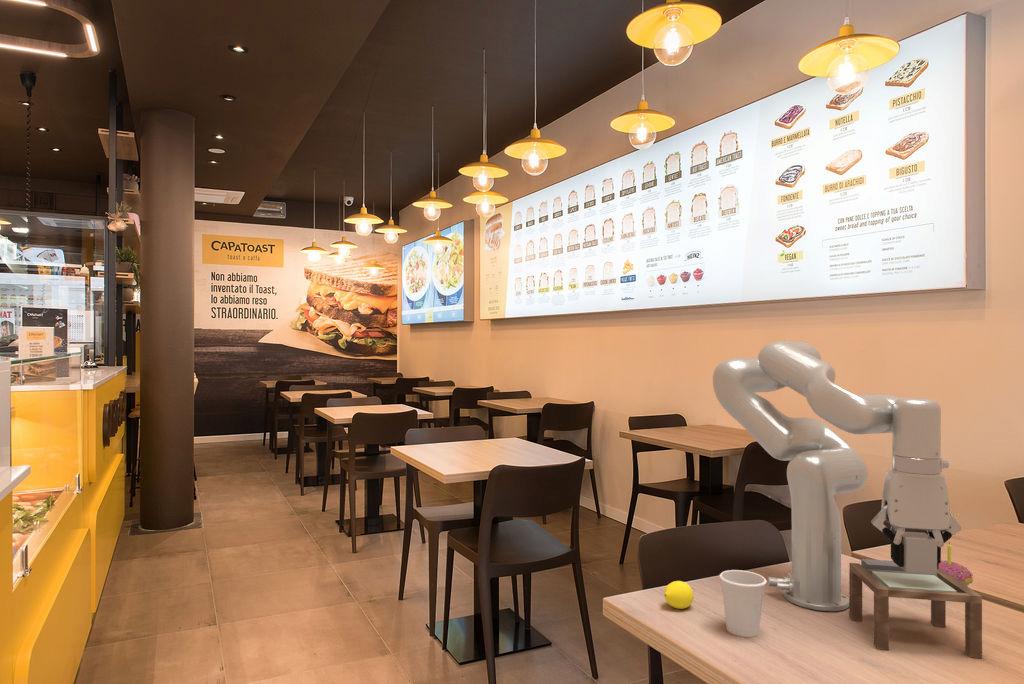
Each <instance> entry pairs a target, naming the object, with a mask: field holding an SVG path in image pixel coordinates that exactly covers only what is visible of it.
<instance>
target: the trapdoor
mask: <svg viewBox="0 0 1024 684" xmlns="http://www.w3.org/2000/svg"><path fill="white" fill-rule="evenodd" d="M860 561H861V563H860V565H861V566H863V567H864V568H865V569H866V570H867V571H868V572H869V573H870V574H871V575H873V576H874V577H875V578H876V579H877V580H878V581H879V582H880V583H882V584H883V585H884V586H885V587H886V588H898V589H912V590H926V591H940V592H955V593H957V591H956V590H954V589H953V588H952V587H950V586H949V585H947V584H946V583H945V582H943V581H942V580H940V579H939V578H938V576H937V574H926V573H912V572H906V571H904V570H903V569H902V568H900V567H899V566H898V565H897V564H895V563H894V562H893V560H883V559H867V558H861V559H860Z"/></svg>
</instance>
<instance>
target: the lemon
mask: <svg viewBox="0 0 1024 684" xmlns="http://www.w3.org/2000/svg"><path fill="white" fill-rule="evenodd" d="M663 594H664V598H665V602H666V603H667V604H668V605H669V606H670V607H671V608H674V609H678V610H684V609H686V608H689V607H690V606H691V605H692V603H693V600H694V598H695V596H694V595H695V594H694V591H693V589H692V588H691V585H689V584H688V583H687V582H685V581H681V580H676V581H672V582H670V583H668V584H667V586H666V587H665V588H664V593H663Z"/></svg>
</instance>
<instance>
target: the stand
mask: <svg viewBox="0 0 1024 684" xmlns="http://www.w3.org/2000/svg"><path fill="white" fill-rule="evenodd" d="M848 565H849V573H848V574H849V575H848V576H849V582H848V583H849V584H848V585H849V588H848V589H849V590H848V591H849V594H848V595H849V597H848V598H849V607H848V608H849V610H848V611H849V614H848V615H849V618H850V619H851V620H852V621H861V622H862V621H863V583H864V585H866V586H867V587H868V589H870V590H871V591H872V592H873V646H874V648H875V649H876V650H877V651H889V650H890V649H889V645H890V644H889V634H890V633H889V631H890V630H889V627H890V625H889V623H890V622H889V608H890V605H889V603H890V602H889V600H890V598H895V599H896V598H898V599H899V598H900V599H912V600H926V601H930V624H932V626H934V627H936V628H946V627H947V626H946V621H947V620H946V616H947V615H946V612H947V611H946V605H947V604H946V603H947V602H953V603H964V605H965V606H964V622H965V623H964V653H965V654H966V655H967V656H968V657H969V656H970V657H974V658H973V659H981V658H982V659H983V596H982V595H981V594H979V593H977V592H976V591H974V590H973V589H972V588H970V587H969V586H968V587H967V586H966V585H964V584H963V583H961V582H960V581H958V580H957V579H955V578H954V577H953V576H951V575H950V574H948V573H947V572H945V571H944V570H942V569H937V576H938V578H939V579H940V580H942V581H943V582H945V583H946V584H947V585H949V586H950V587H952V588H953V589H954V590H956V591H957V593H955V592H940V591H926V590H912V589H898V588H886V587H885V586H884V585H883V584H882V583H880V582H879V581H878V580H877V579H876V578H875V577H874V576H873V575H871V574H870V573H869V572H868V571H867V570H866V569H865V568H864V567H863V566H861V563H860V562H857V563H856V562H849V564H848ZM970 657H969V658H970Z"/></svg>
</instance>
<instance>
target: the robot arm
mask: <svg viewBox="0 0 1024 684" xmlns="http://www.w3.org/2000/svg"><path fill="white" fill-rule="evenodd" d="M835 381H836V371H835V369H834V367H833V366H832V365H831V364H830V363H827V362H826V361H823V360H822V356H821V354H820V352H819V350H818V348H816V347H815V345H813V344H811V343H808V342H805V341H786V340H778V341H771V342H769V343H767V344H765V345H764V346H763V347H762V348H761V349H760V351H759V353H758V355H757V357H735V358H733V357H732V358H728V359H726V360H723V361H721V362H720V363H718V364H717V366H715V368H714V371H713V374H712V386H713V387H712V388H713V392H714V394H715V397H716V399H717V400H718V402H719V404H720V406H721V407H722V408H723V409H724V411H725V412H726V413H728V415H730V416H731V417H732V418H733V419H734V420H735V421H737V422H738V423H739V424H740V425H741V426H742V427H743V429H745V430H746V431H747V433H748V434H749V435H750V436H751V437H752V438H753V439H754V440H755V441H756V442H757V443H758V444H759V445H760V446H761V447H762V448H763V449H764V451H765V452H767V454H768V455H770V456H771V457H772V458H774V459H776V460H779V461H785V462H787V461H789V462H788V464H787V468H786V478H787V479H786V480H787V483H788V484H787V485H788V489H789V495H790V504H791V505H790V506H791V572H787V576H782V577H775V576H774V577H773V576H768V577H767V585H768V587H776V590H779V591H780V590H783V597H784V598H785V600H787V601H788V602H790V603H791V604H794V605H796V606H799V607H802V608H806V609H808V610H809V609H810V610H814V611H822V612H839V611H844V610H846V609H848V608H849V597H848V596H847V595H846V594H844V593H842V517H841V512H840V509H839V507H838V505H837V501H836V499H835V495H841V494H847V493H848V494H849V493H853V492H857V491H859V490H860V489H862V488H863V487H864V486H865V484H867V480H868V477H869V475H868V473H869V472H868V468H867V464H866V463H865V461H864V459H863V458H862V456H861V455H860V454H859V453H858V452H857V451H856V450H855V449H854V448H853V447H852V446H851V445H849V444H848V443H847V442H846V441H845V440H844V439H843V438H841V436H839V435H838V434H837V432H835V431H834V430H833V429H832V428H830V427H829V426H828V425H826V424H825V423H824V422H822V421H821V420H818V419H816V418H813V417H790V416H788V415H786V414H784V413H782V412H781V411H780V410H779V409H778V408H776V406H774V404H773V403H772V402H770V401H769V400H768V399H766V398H764V397H762V396H760V395H759V394H757V393H769V392H770V393H771V392H776V391H779V390H782V389H784V388H786V387H787V388H789V389H790V390H793V391H795V392H796V394H797V393H798V394H799V395H801V396H803V397H805V398H806V402H807V404H808V406H809V407H810V408H811V410H812V411H813V412H814V414H816V416H818V417H820V418H821V419H823V420H825V422H827V423H829V424H831V425H832V426H834V427H836V428H838V429H839V430H842V431H844V432H846V433H848V434H853V435H872V434H876V435H877V434H879V435H880V434H891V435H892V439H891V440H892V442H891V444H892V445H891V448H892V450H891V451H892V453H891V454H892V461H891V462H892V463H891V464H892V465H891V470H886V473H885V477H884V483H883V489H882V490H883V491H882V497H881V498H882V499H881V506H880V507H881V510H880V511H878V513H877V514H876V515H875V516H874V517H873V518H872V519H871V520H870V522H871V525H873V527H875V528H877V529H878V530H879V531H880V532H881V533H882V534H883V535H885V537H886V538H887V539H888V540H889V541H890V559H891V561H893V562H894V563H895V564H897V565H898V566H899V567H903V566H904V546H903V545H902V544H901V540H902V537H903V534H904V532H906V530H920V531H927V535H929V536H931V537H932V538H934V539H936V540H937V569H938V568H939V563H941V561H942V559H941V557H942V554H941V553H942V548H943V547H944V546H945V543H946V542H947V541H948V542H949V540H950V539H952V538H953V536H955V535H956V534H957V533H959V532H961V531H962V526H961V525H960V524H959V522H958V521H957V520H956V519H955V518H954V516H953V515H952V514H951V512H950V511H951V510H950V509H951V508H950V498H949V492H948V491H949V490H948V487H947V482H946V477H945V476H944V475H943V474H942V472H943V470H944V469H949V466H950V464H949V461H948V460H943V458H942V457H941V449H942V448H941V444H942V443H941V442H942V441H941V437H942V436H941V435H942V434H941V432H942V431H941V427H942V422H941V421H942V418H941V416H942V411H941V408H942V407H941V405H940V403H939V402H938V401H937V400H935V399H930V398H921V397H920V398H916V397H900V396H897V395H892V394H885V393H884V394H874V393H873V394H871V393H870V394H855V393H853V392H851V391H848V390H846V389H845V388H843V387H841V386H839V385H837V384H835ZM885 522H886V523H889V525H890V528H888V526H886V525H885V524H884V523H885Z"/></svg>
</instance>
